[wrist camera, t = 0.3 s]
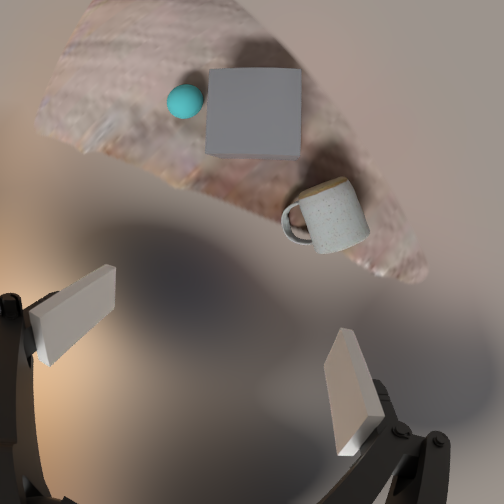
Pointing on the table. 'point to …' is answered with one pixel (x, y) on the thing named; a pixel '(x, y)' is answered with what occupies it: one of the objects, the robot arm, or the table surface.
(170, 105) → the ball
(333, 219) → the ceramic mug
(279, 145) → the grey cube
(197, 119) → the table surface
